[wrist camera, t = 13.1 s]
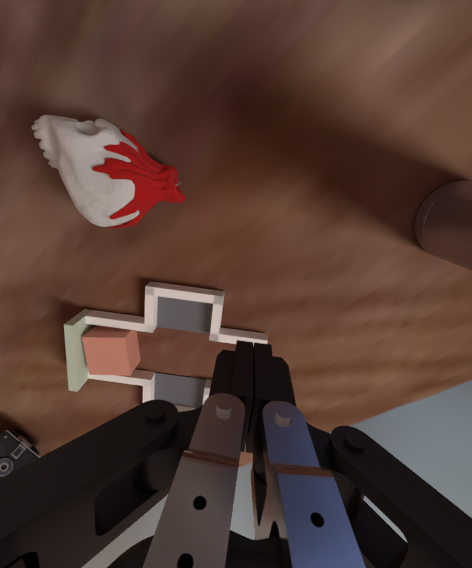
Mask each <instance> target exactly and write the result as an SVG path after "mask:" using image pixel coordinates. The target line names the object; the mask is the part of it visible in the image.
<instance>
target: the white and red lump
mask: <svg viewBox="0 0 472 568" xmlns="http://www.w3.org/2000/svg"><path fill="white" fill-rule="evenodd" d="M34 123H35V125H32V127H31V128H32V129H33V130H37V131H35V132H34V137H35V138H37V139H41V142H40V143H39V146H40V148H41V149H43V150H45V151H44V152H43V155H44V157H45V158H47V159H49V160H50V161H49V162H48V163H49V165H51V167H52V168H56V169H58V170H59V173H60V177H61V179H62V181H63V183H64V185H65V187H66V189H67V191H68V193H69V195H70V197H71V198H72V201H73V203H74V205H75V206H76V208H77V209H78V211H79V212H80V213H81V214H82V215H83V216H84V217H85V218H86V219H88V220H89V221H90V222H91V223H93V224H95V225H98V226H102V227H108V226H109V228H123V227H130V226H133V225H136V224H137V223H138V222H139V221H140V220H141V219H142V217H143V216H144V215H145V213H146V212H148V211H149V210H150V209H151V208H152V207H153V206H154V205H156V204H157V203H158V202H160V201H165V200H166V201H167V202H172V203H183V201H184V200H185V195H184V194H183V193H182V191H181V190H180V189H179V184H181V182H179V183H178V179H177V170H176V169H175V168H174V167H173V166H168V165H161V164H160V163H158V162H156V161H155V160H153V159H152V158H150V157H149V155H148V154H147V152H146V151H145V149H144V147H143V146H142V145H140V144H139V143H138V142H137V141H136V139H135V138H134V137H133V136H132V135H130V134H128V133H126V132H125V131H123V130H121V129H120V130H119V129H118V128H117V127H116V126H114V125H113V124H111V123H109V122H108V121H106V120H104V119H96V121H95V122H94V121H90V120H87V121H84V122H79V121H78V120H76V119H71V118H67V117H61V116H53V115H43V116H41V117H40V119H38V120H36V121H34Z"/></svg>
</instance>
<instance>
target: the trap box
mask: <svg viewBox="0 0 472 568" xmlns="http://www.w3.org/2000/svg"><path fill="white" fill-rule="evenodd" d="M223 300H224V291H218V290H211V289H203V288H196V287H189V286H181V285H174V284H166V283H159V282H151V281H150V282H149V283H148V284H147V285H146V286H145V317H140V316H133V315H126V314H118V313H111V312H103V311H96V310H89V309H84V310H83V311H81V312H80V313H79V314H77V315H76V316H75V317H73V318H72V319H71V320H69V321H68V322H66V323H65V324H64V334H65V347H66V359H67V372H68V385H69V391H76V392H77V391H78V390H79V389H80V388H81V387H82V385H83V384H84V383H85V382H86V381H87V380H88V378H90V379H97V380H104V381H112V382H119V383H126V384H133V385H141V386H143V403H144V402H147V401H150V400H157V399H158V400H166V401H169V402H171V403H172V404H174V405H175V406H176V408H177V409H178V412H182V411H189V410H194V409H196V408H199V407H200V406H202V405H203V404H204V402H205V400H206V399H207V398H208V397H209V392H210V387H211V382H212V380H209V379H202V378H194V377H187V376H180V375H173V374H165V373H158V372H151V371H143V370H136V369H135V370H134V371H133V373H132V374H131V376H125V375H89V370H88V365H87V360H86V355H85V351H84V346H83V341H82V337H83V336H84V335H85V334H86V333H87V332H88V331H89V330H90V329H92V328H93V325H99V326H107V327H114V328H122V329H129V330H136V331H144V332H151V333H153V332H154V330H155V329H156V327H162V328H169V329H176V330H184V331H191V332H199V333H206V334H210V339H209V340H210V341H217V342H225V343H232V344H236V342H237V340H241V341H248V342H253V346H254V342H256V343H263V344H267V341H268V339H267V334H266V333H259V332H251V331H244V330H236V329H229V328H222V327H220V326H221V317H222V309H223Z"/></svg>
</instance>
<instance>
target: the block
mask: <svg viewBox="0 0 472 568" xmlns="http://www.w3.org/2000/svg"><path fill="white" fill-rule="evenodd" d="M82 341H83V346H84V351H85V355H86V360H87V365H88V370H89V375H125V376H131V374H132V373H133V371H134V370H135V368H136V367H137V365H138V363H139V362H140V353H139V346H138V339H137V332H136V330H129V329H122V328H114V327H107V326H99V325H95V326H94V327H93V328H92V329H90V330H89V331H88V332H87V333H86V334H85V335H84V336H83V337H82Z"/></svg>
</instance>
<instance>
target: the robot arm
mask: <svg viewBox="0 0 472 568" xmlns="http://www.w3.org/2000/svg"><path fill="white" fill-rule="evenodd" d="M414 231H415V236H416V239H417V241H418V243H419V245H420V246H421V247H422V248H423V249H424V250H425V251H427V252H428V253H430V254H432V255H434V256H437V257H439V258H442V259H444V260H447V261H449V262H452V263H454V264H457V265H459V266H462V267H464V268H467V269H469V270H472V180H464V181H454V182H451V183H447V184H445V185H443V186H441V187H439V188H437V189H436V190H435V191H433V192H432V193H431V194H430V195H429V196H428V197H427V198H426V199H425V200H424V202H423V203H422V205H421V206H420V208H419V210H418V212H417V215H416V218H415V223H414ZM245 443H246V452H249V453H253V464H252V470H251V486H252V499H253V514H254V528H255V540H251V539H249V538H246V537H244V536H242V535H240V534H237V533H235V532H233V531H231V530H230V525H231V517H232V510H233V502H234V495H235V487H236V481H237V473H238V466H239V459H240V453H241V452H244V449H245ZM168 493H169V494H168ZM167 494H168V497H167V500H166V502H165V505H164V508H163V511H162V514H161V517H160V520H159V522H158V526H157V528H156V531H155V534H154V535H153V536H151V537H148V538H146V539H144V540H142V541H140V542H139V543H137V544H135V545H134V546H132V547H130V548H129V549H128V550H127V551H125V552H124V553H123V554H121V555H120V556H119V557H118V558H117V559H116V560H115V561H114V562H113V563H112V564H111V565H110V566H109V567H107V568H472V518H471V517H469V516H468V515H467V514H466V513H464V512H463V511H462V510H460V509H459V508H458V507H457V506H456V505H454V504H453V503H452V502H451V501H449V500H448V499H447V498H445V497H444V496H443V495H442V494H440V493H439V492H438V491H437V490H436V489H434V488H433V487H432V486H431V485H429V484H428V483H427V482H425V481H424V480H423V479H422V478H421V477H419V476H418V475H417V474H415V473H414V472H413V471H412V470H410V469H409V468H408V467H407V466H405V465H404V464H403V463H402V462H400V461H399V460H398V459H396V458H395V457H394V456H393V455H392V454H390V453H389V452H388V451H387V450H385V449H384V448H383V447H381V446H380V445H379V444H378V443H377V442H375V441H374V440H373V439H372V438H370V437H369V436H368V435H367V434H365V433H364V432H362V431H360V430H358V429H356V428H353V427H349V426H339V427H336V428H335V429H333V431H332V433H331V434H330V433H327V432H325V431H322V430H320V429H317V428H315V427H313V426H311V425H310V424H308V423H307V422H306V421H305V418H304V415H303V414H302V412H301V411H300V410H299V409H298V408H297V407H296V403H295V397H294V392H293V387H292V382H291V377H290V372H289V367H288V365H287V363H286V362H285V361H284V360H283V358H281V357H273V356H272V348H271V344H263V343H256V342H254V346H253V342H248V341H241V340H237V342H236V349H235V351H229V350H222V351H221V352H220V353H219V354H218V355H217V358H216V363H215V368H214V373H213V378H212V382H211V387H210V392H209V397H208V398H207V399H206V400H205V402H204V404H203V405H202V406H200V407H199V408H196V409H194V410H189V411H182V412H178V409H177V408H176V406H175V405H174V404H172V403H171V402H169V401H166V400H158V399H157V400H150V401H147V402H144V403H142V404H140V405H138V406H136V407H135V408H133V409H131V410H129V411H127V412H125V413H123V414H121V415H119V416H118V417H116V418H114V419H112V420H110V421H108V422H106V423H104V424H102V425H101V426H99V427H97V428H95V429H93V430H91V431H89V432H87V433H86V434H84V435H82V436H80V437H78V438H76V439H74V440H72V441H70V442H69V443H67V444H65V445H63V446H61V447H59V448H57V449H55V450H53V451H52V452H50V453H48V454H46V455H44V456H42V457H40V458H38V459H36V460H35V461H33V462H31V463H29V464H27V465H25V466H23V467H21V468H20V469H18V470H16V471H14V472H12V473H10V474H8V475H6V476H4V477H3V478H1V479H0V568H81V567H82V566H84V565H85V564H86V563H87V562H88V561H90V560H91V559H92V558H93V557H94V556H96V555H97V554H98V553H99V552H100V551H101V550H103V549H104V548H105V547H106V546H107V545H109V544H110V543H111V542H112V541H113V540H114V539H116V538H117V537H118V536H119V535H120V534H121V533H123V532H124V531H125V530H126V529H127V528H129V527H130V526H131V525H132V524H133V523H135V522H136V521H137V520H138V519H139V518H140V517H142V516H143V515H144V514H145V513H146V512H147V511H149V510H150V509H151V508H152V507H153V506H155V505H156V504H157V503H158V502H159V501H160V500H162V499H163V498H164V497H165V496H166V495H167ZM364 496H366V497H367V498H368V499H370V501H371V502H372V503H374V505H375V506H377V507H378V508H379V509H380V510H381V511H382V512H383V513H384V514H385V515H386V516H387V517H388V518H389V519H390V520H391V521H392V522H393V523H394V524H395V525H396V526H397V527H398V528H399V529H400V530H401V532H402V533H403V534H404V536H405V538H406V539H407V542H408V543H407V542H405V541H404V540H403V539H402V538H401V537H400V536H399V535H398V534H397V533H396V532H395V531H394V530H393V529H392V528H391V527H390V526H389V525H388V524H387V523H386V522H385V521H384V520H383V519H382V518H381V517H380V516H379V515H378V514H377V513H376V512H375V511H374V510H373V509H372V508H371V507H370V506H369V505H368V504H367V503H366V502H365V501H364V500H363V499H364Z"/></svg>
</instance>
